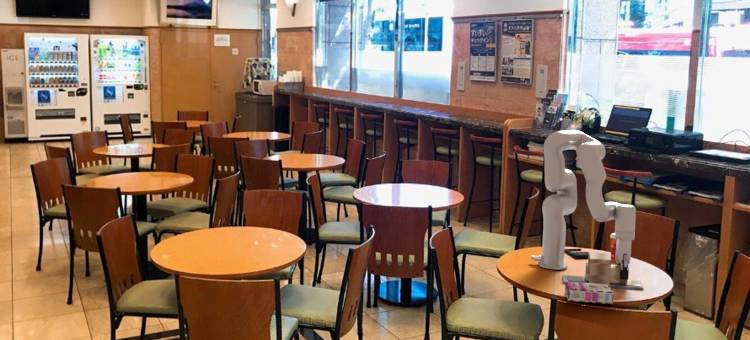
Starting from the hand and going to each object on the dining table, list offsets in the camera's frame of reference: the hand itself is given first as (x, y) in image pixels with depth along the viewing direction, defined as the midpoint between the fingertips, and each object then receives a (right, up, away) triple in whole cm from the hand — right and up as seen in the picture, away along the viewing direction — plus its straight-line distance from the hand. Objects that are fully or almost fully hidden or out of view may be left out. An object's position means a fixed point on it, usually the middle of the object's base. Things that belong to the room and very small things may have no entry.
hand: (622, 276), depth 291 cm
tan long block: (-8, -3, +2) cm, 9 cm away
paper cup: (+9, 0, +34) cm, 36 cm away
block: (-6, -2, +2) cm, 7 cm away
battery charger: (-6, +1, +43) cm, 43 cm away
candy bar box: (-28, -3, -18) cm, 33 cm away
